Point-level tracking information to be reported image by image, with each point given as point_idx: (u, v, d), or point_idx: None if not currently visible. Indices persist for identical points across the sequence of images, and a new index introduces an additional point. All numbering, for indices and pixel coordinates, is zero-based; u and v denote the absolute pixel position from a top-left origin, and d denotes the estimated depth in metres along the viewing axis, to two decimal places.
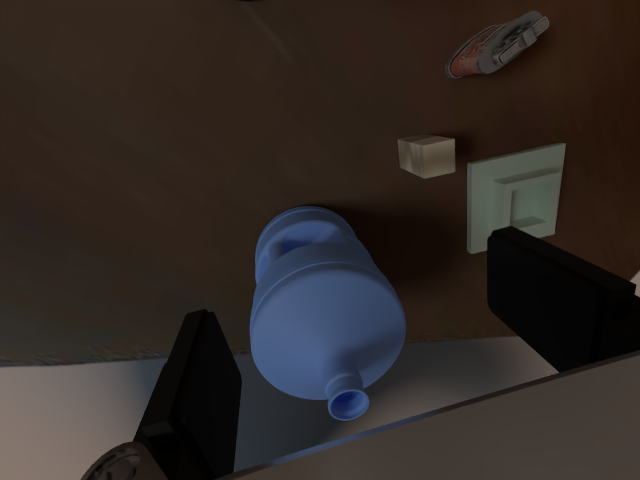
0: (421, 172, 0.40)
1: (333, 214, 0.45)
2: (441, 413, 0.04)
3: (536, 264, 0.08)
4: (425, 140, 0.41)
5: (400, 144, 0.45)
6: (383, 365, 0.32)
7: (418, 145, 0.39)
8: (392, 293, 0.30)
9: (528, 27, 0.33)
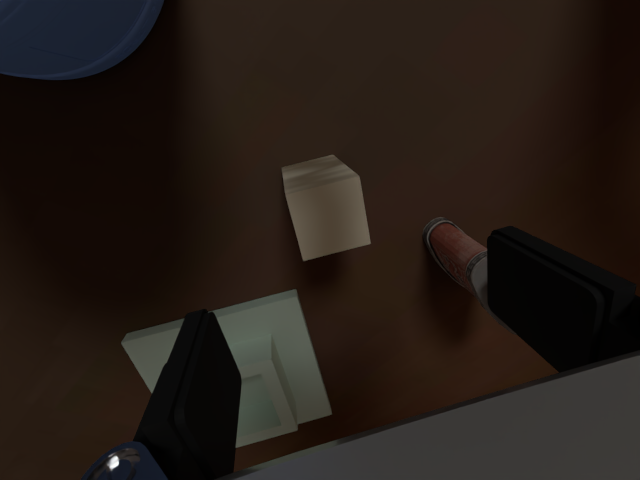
0: (296, 188, 0.17)
1: None
2: (441, 413, 0.04)
3: (536, 264, 0.08)
4: None
5: (327, 158, 0.23)
6: None
7: (351, 172, 0.18)
8: None
9: None
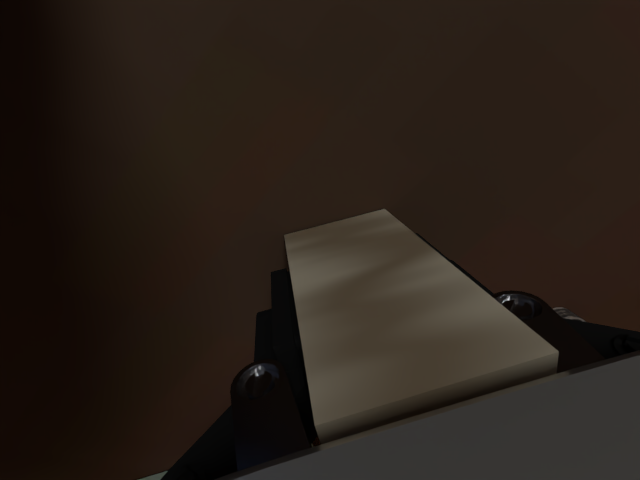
0: (345, 378, 0.05)
1: None
2: (441, 413, 0.04)
3: None
4: None
5: (378, 220, 0.11)
6: None
7: (498, 308, 0.06)
8: None
9: None
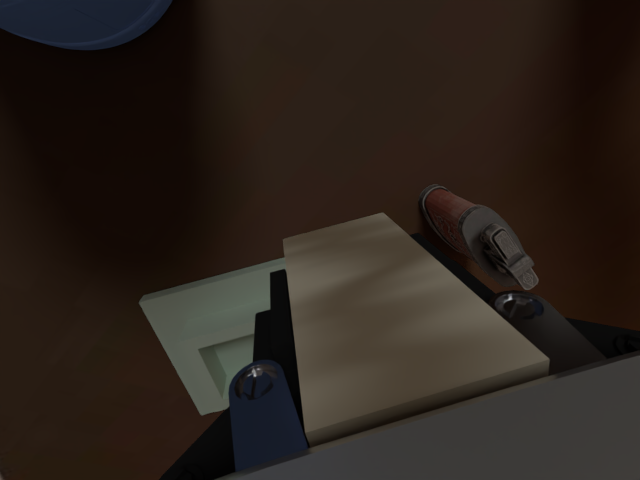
0: (336, 385, 0.05)
1: None
2: (441, 413, 0.04)
3: None
4: None
5: (376, 224, 0.11)
6: None
7: (491, 314, 0.06)
8: None
9: None
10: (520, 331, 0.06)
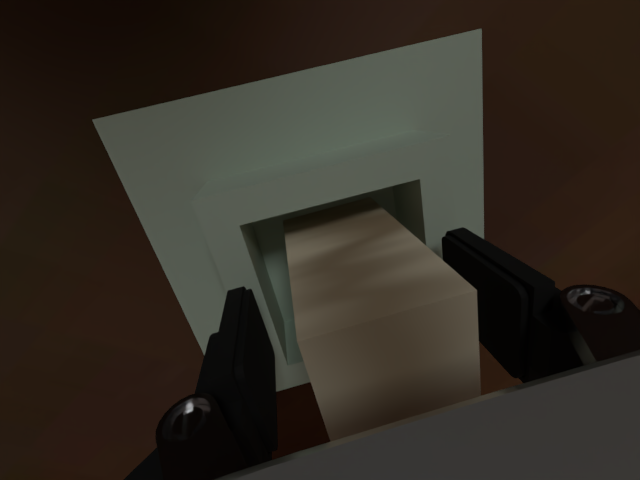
0: (321, 314, 0.07)
1: None
2: (441, 413, 0.04)
3: (477, 263, 0.09)
4: None
5: (363, 206, 0.13)
6: None
7: (442, 265, 0.08)
8: None
9: None
10: (589, 324, 0.06)
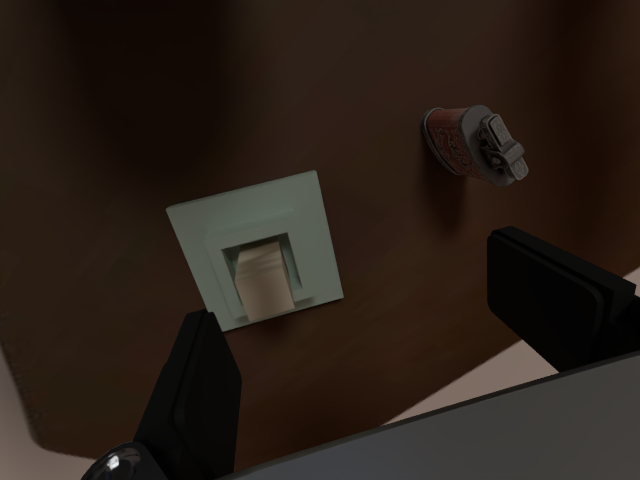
0: (242, 275, 0.26)
1: None
2: (441, 413, 0.04)
3: (536, 264, 0.08)
4: (285, 270, 0.29)
5: (272, 240, 0.33)
6: None
7: (280, 262, 0.27)
8: None
9: None
10: None
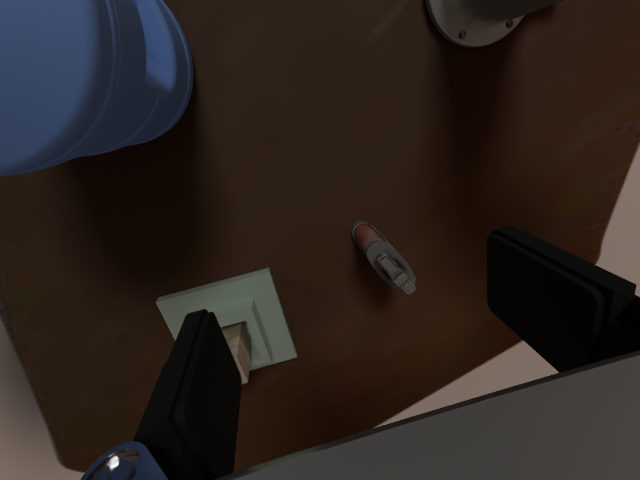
0: None
1: (185, 98, 0.32)
2: (441, 413, 0.04)
3: (536, 264, 0.08)
4: (243, 351, 0.40)
5: None
6: None
7: (237, 350, 0.38)
8: (64, 134, 0.16)
9: (408, 276, 0.35)
10: None
